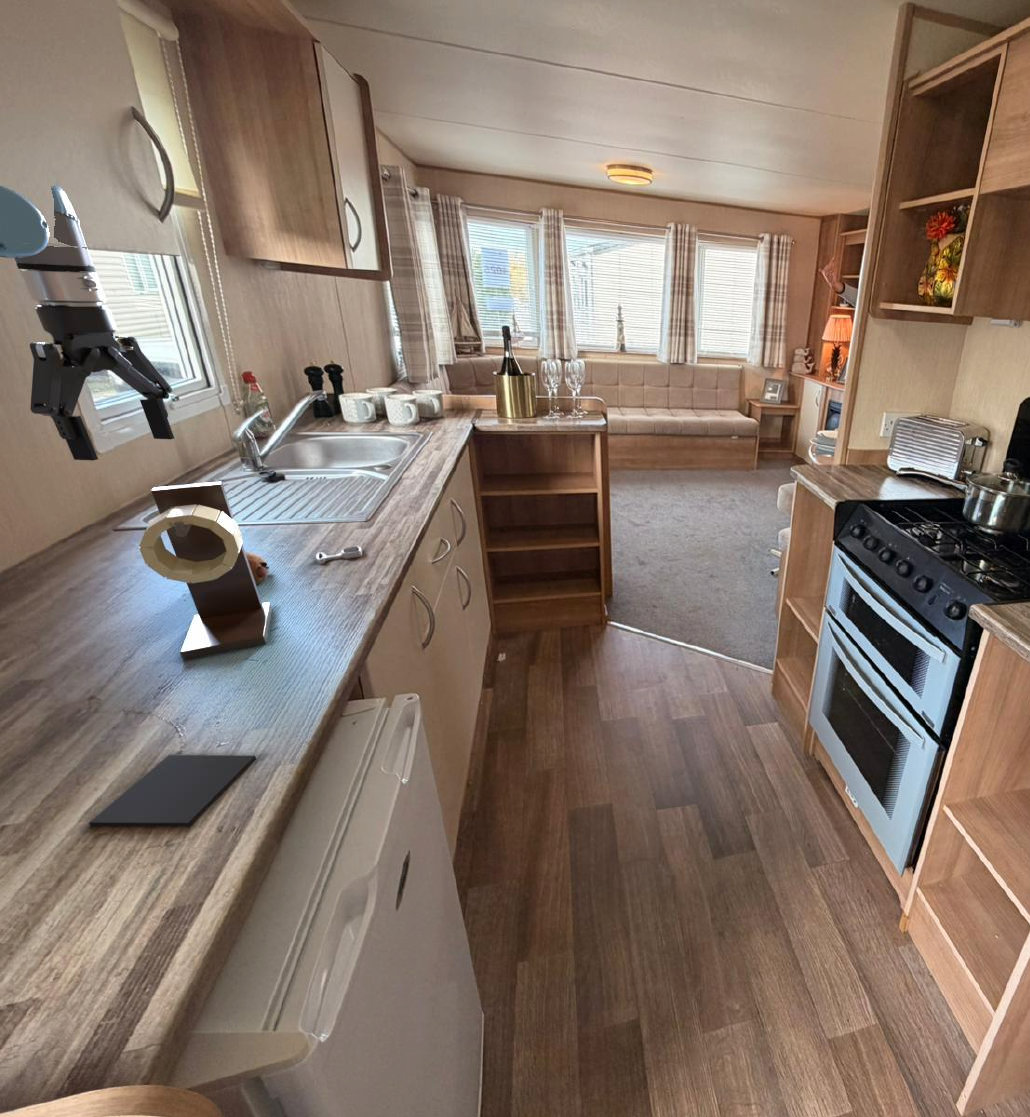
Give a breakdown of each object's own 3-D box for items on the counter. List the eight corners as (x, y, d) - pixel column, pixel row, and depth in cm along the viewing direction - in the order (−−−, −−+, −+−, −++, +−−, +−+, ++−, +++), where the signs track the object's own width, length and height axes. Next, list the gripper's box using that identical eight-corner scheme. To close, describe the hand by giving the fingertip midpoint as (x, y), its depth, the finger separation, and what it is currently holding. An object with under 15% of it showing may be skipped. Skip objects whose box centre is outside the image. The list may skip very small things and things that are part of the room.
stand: (197, 623, 98) (144, 487, 88) (272, 609, 103) (230, 479, 94) (183, 661, 89) (122, 514, 79) (266, 644, 94) (218, 504, 84)
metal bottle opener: (363, 557, 124) (361, 551, 123) (317, 565, 120) (315, 559, 119) (361, 550, 127) (359, 544, 127) (316, 557, 123) (314, 551, 122)
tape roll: (163, 575, 89) (137, 510, 85) (250, 562, 94) (230, 500, 90) (155, 589, 85) (128, 521, 81) (247, 574, 90) (225, 510, 86)
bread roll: (220, 592, 115) (183, 563, 110) (273, 561, 118) (240, 531, 113) (221, 613, 108) (183, 583, 103) (277, 579, 112) (243, 548, 107)
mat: (90, 827, 62) (88, 822, 62) (170, 758, 71) (168, 754, 71) (190, 827, 63) (187, 823, 63) (256, 759, 72) (255, 755, 72)
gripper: (4, 307, 74) (75, 471, 83) (171, 303, 97) (213, 432, 106) (-60, 304, 74) (18, 469, 83) (123, 301, 97) (169, 430, 105)
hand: (128, 448), depth 94 cm, fingers open, 13 cm apart
